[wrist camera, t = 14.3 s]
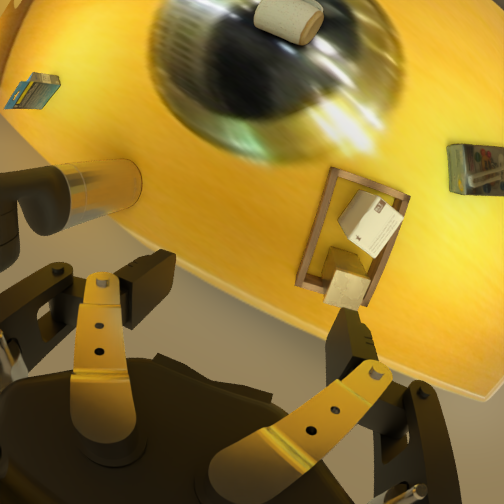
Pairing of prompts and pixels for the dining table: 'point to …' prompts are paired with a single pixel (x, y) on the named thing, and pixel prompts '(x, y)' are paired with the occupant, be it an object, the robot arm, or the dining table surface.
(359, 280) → the tea tin
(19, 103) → the label tape cartridge
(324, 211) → the crate
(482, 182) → the beverage carton
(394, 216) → the skincare box
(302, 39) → the ceramic mug
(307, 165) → the dining table surface
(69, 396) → the robot arm
